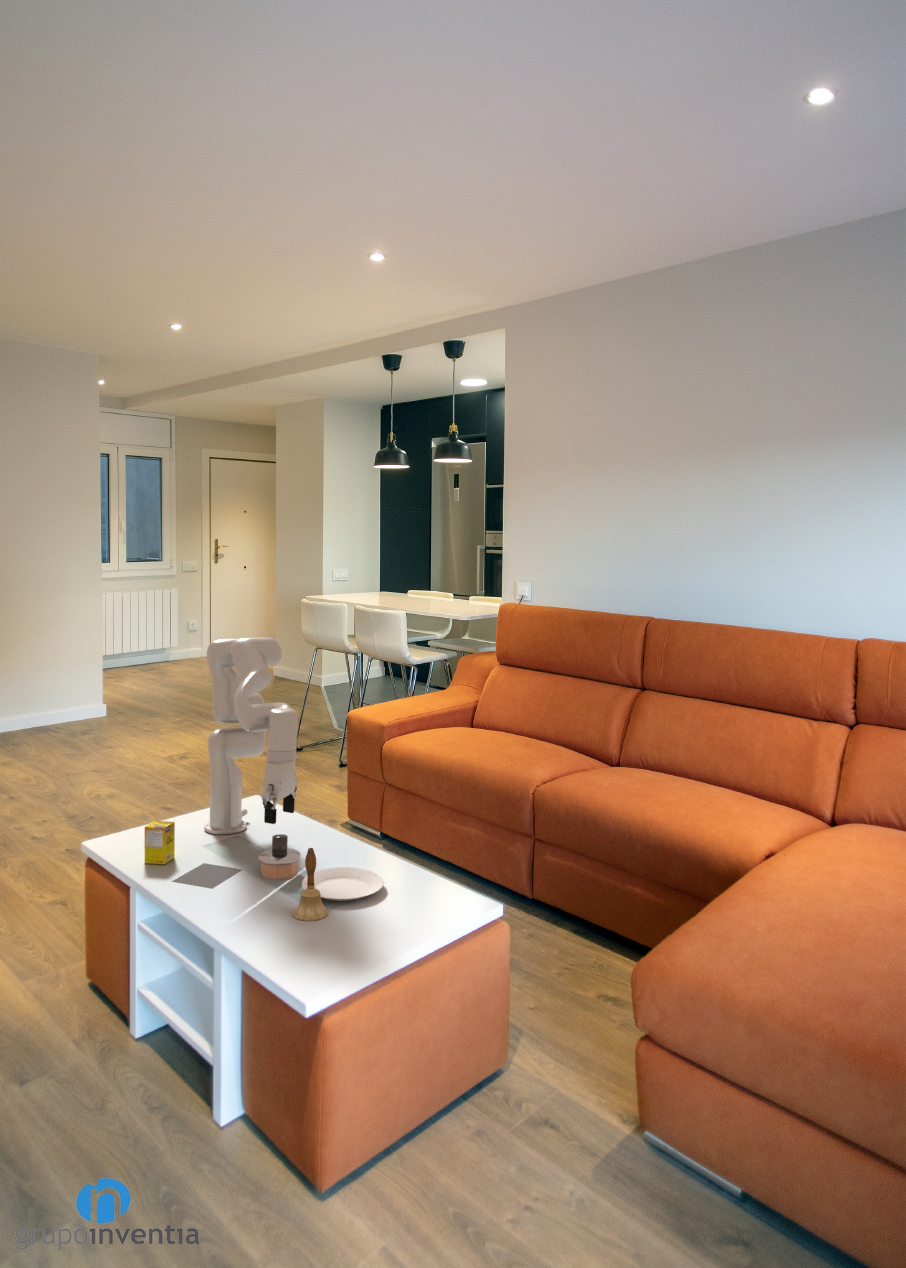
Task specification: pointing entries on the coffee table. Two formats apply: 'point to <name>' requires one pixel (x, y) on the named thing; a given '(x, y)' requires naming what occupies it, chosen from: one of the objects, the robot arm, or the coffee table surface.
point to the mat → (207, 875)
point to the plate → (345, 883)
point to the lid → (279, 852)
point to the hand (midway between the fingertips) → (279, 817)
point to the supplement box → (159, 842)
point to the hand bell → (310, 895)
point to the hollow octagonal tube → (279, 871)
